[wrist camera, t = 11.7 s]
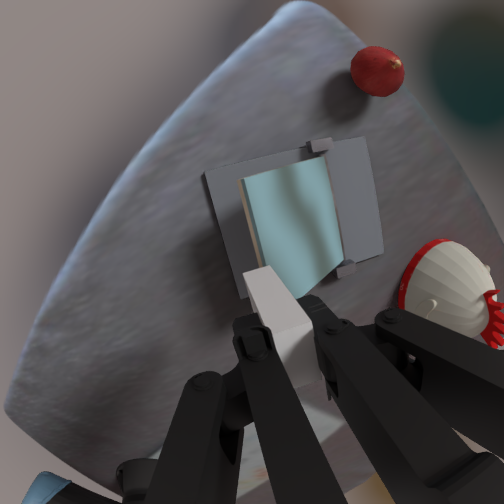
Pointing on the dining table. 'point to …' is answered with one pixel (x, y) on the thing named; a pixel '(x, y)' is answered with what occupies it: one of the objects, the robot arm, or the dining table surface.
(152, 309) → the dining table surface
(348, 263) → the hinge blocks
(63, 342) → the dining table surface
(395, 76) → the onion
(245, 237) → the base plate
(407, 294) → the kitchen timer
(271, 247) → the flap
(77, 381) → the dining table surface
